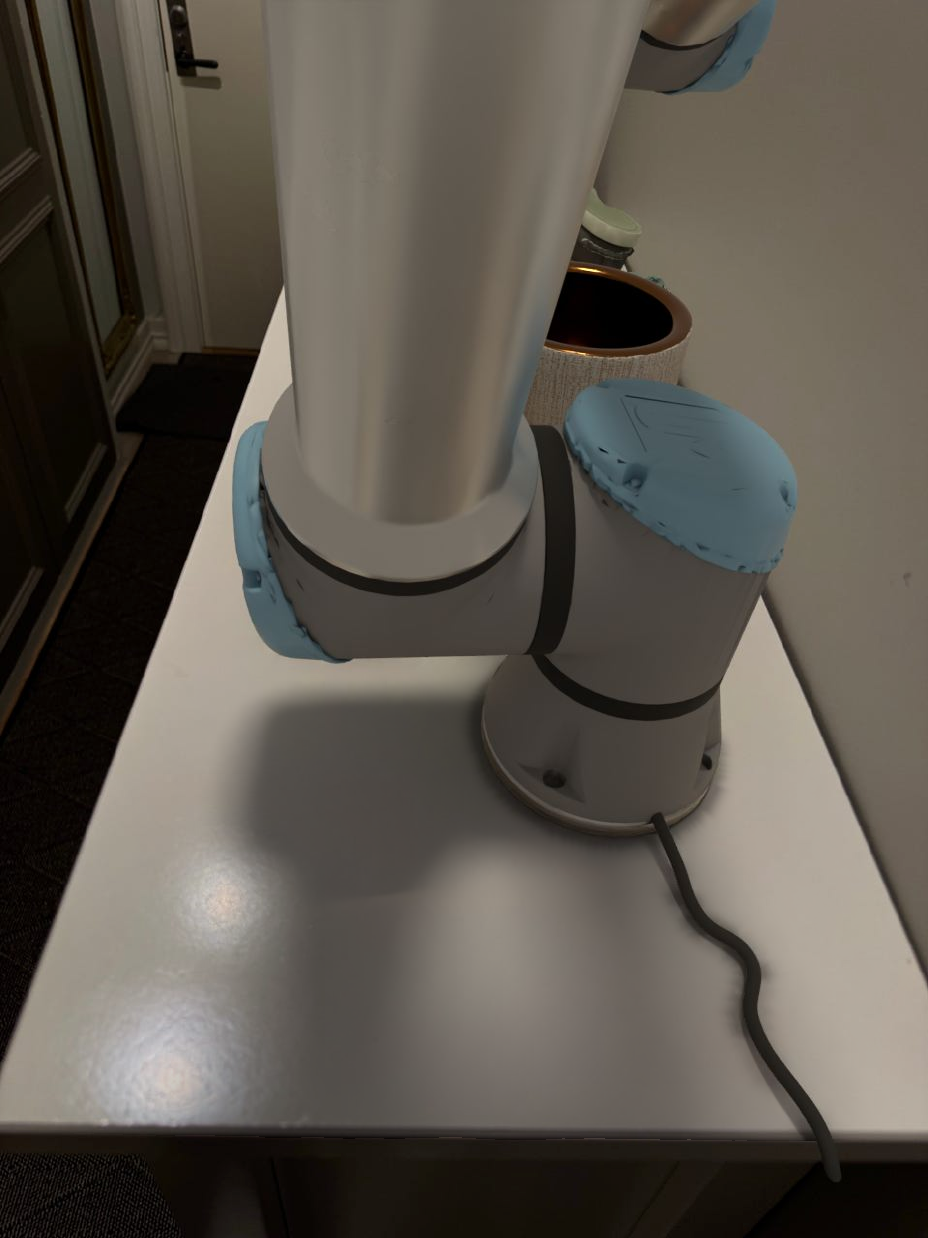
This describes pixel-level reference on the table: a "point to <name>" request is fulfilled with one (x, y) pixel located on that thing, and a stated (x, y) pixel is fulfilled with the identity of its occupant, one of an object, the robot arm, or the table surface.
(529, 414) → the planter
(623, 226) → the boat shoe
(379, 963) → the table surface
